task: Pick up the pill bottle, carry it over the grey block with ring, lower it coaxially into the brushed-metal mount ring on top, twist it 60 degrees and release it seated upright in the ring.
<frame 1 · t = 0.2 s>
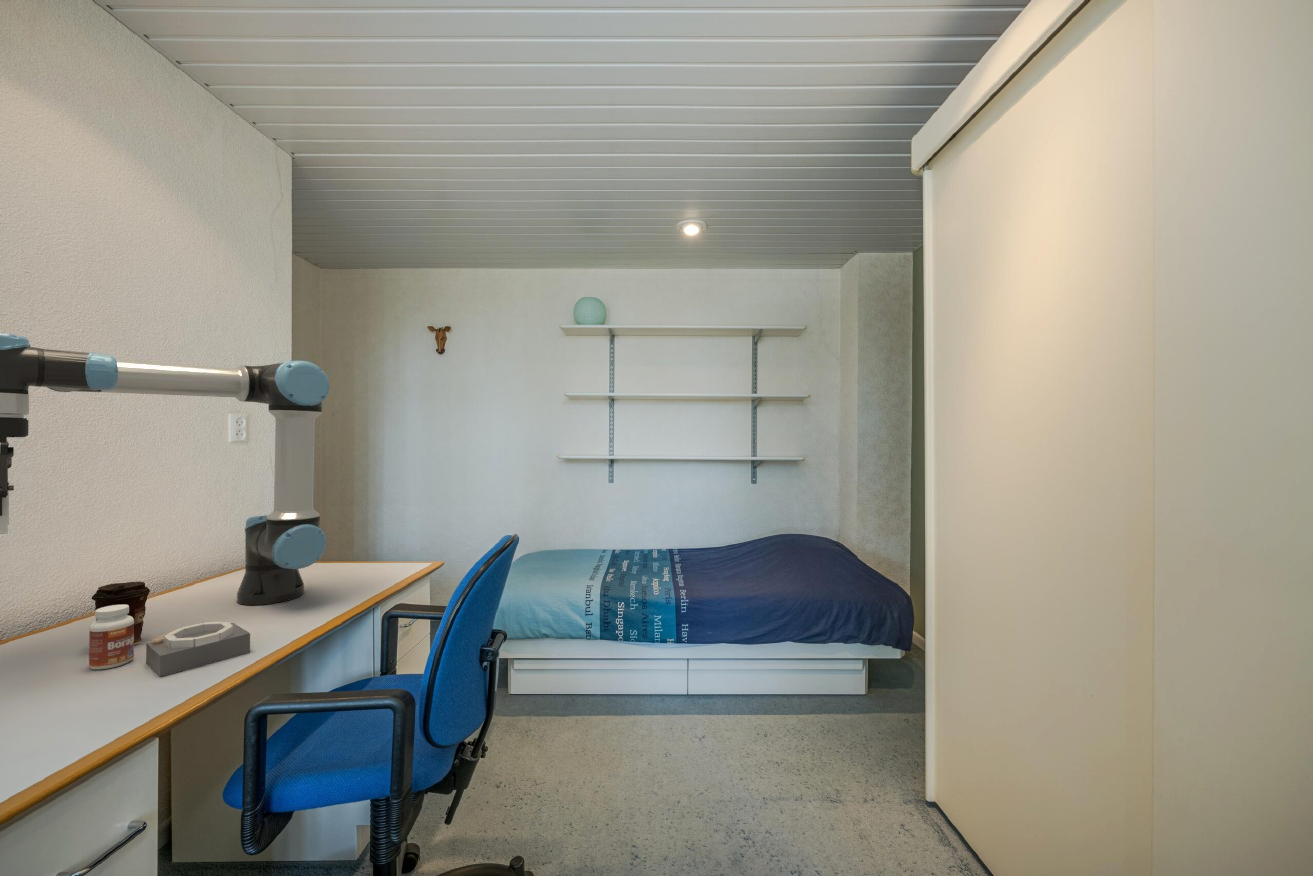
grey block with ring: (199, 657, 107), on the table
coffee cup: (120, 646, 113), on the table
pill bottle: (111, 664, 104), on the table
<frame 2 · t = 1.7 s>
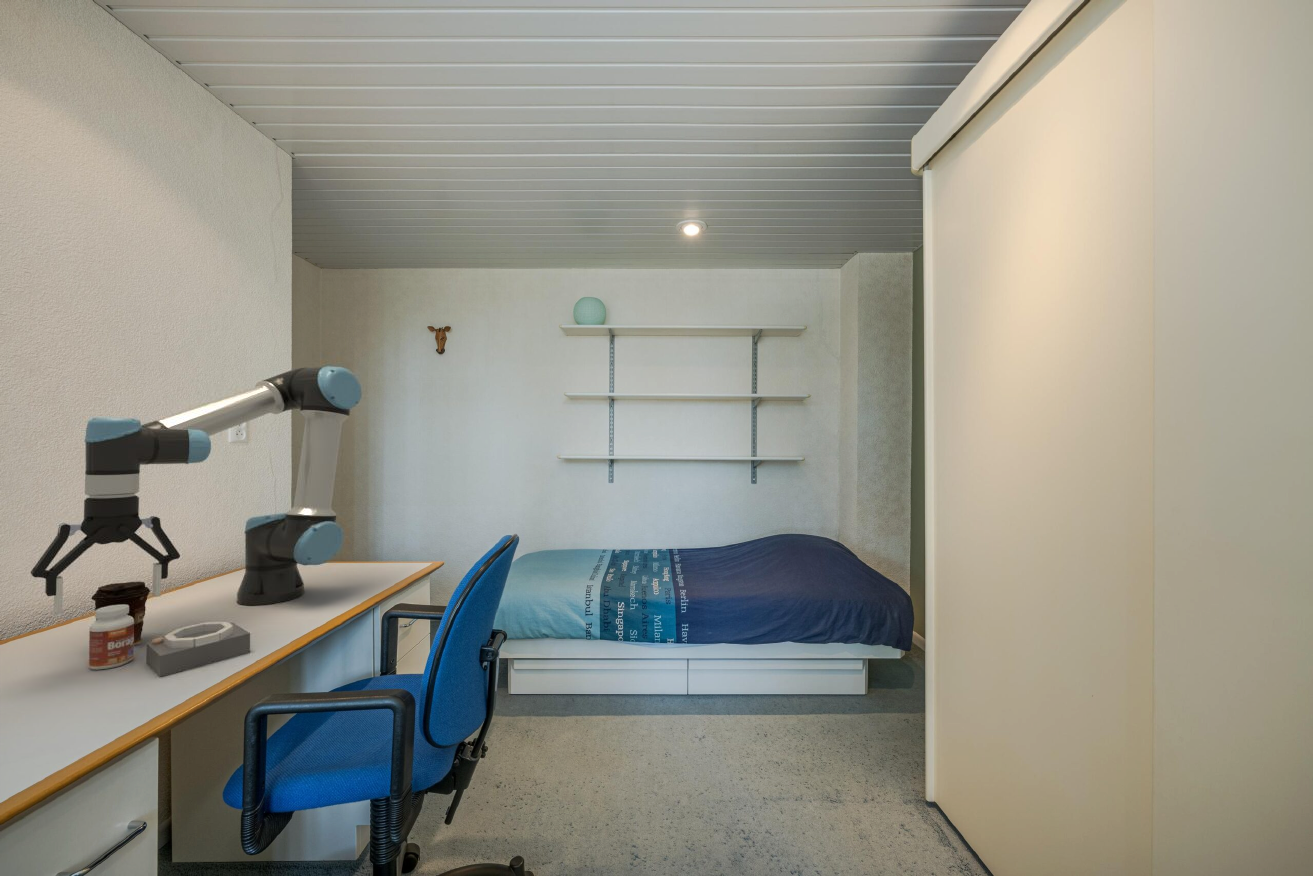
hand: (109, 603, 104), 12 cm above the table, fingers open, 13 cm apart
nothing on the table moved.
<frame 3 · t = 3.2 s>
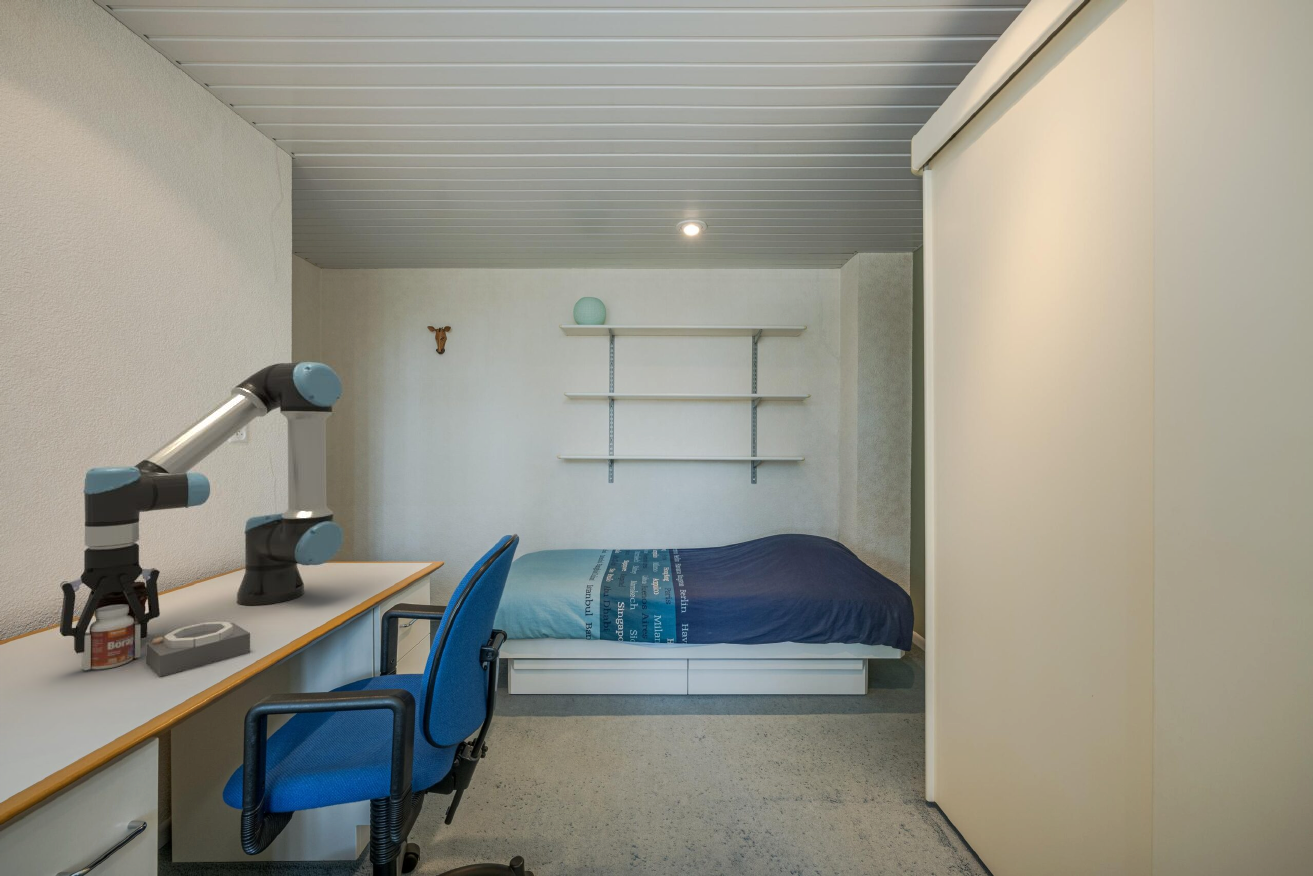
hand: (111, 661, 104), 0 cm above the table, fingers closed on pill bottle, 6 cm apart
pill bottle: (111, 664, 104), on the table, touching gripper
everything else where it was.
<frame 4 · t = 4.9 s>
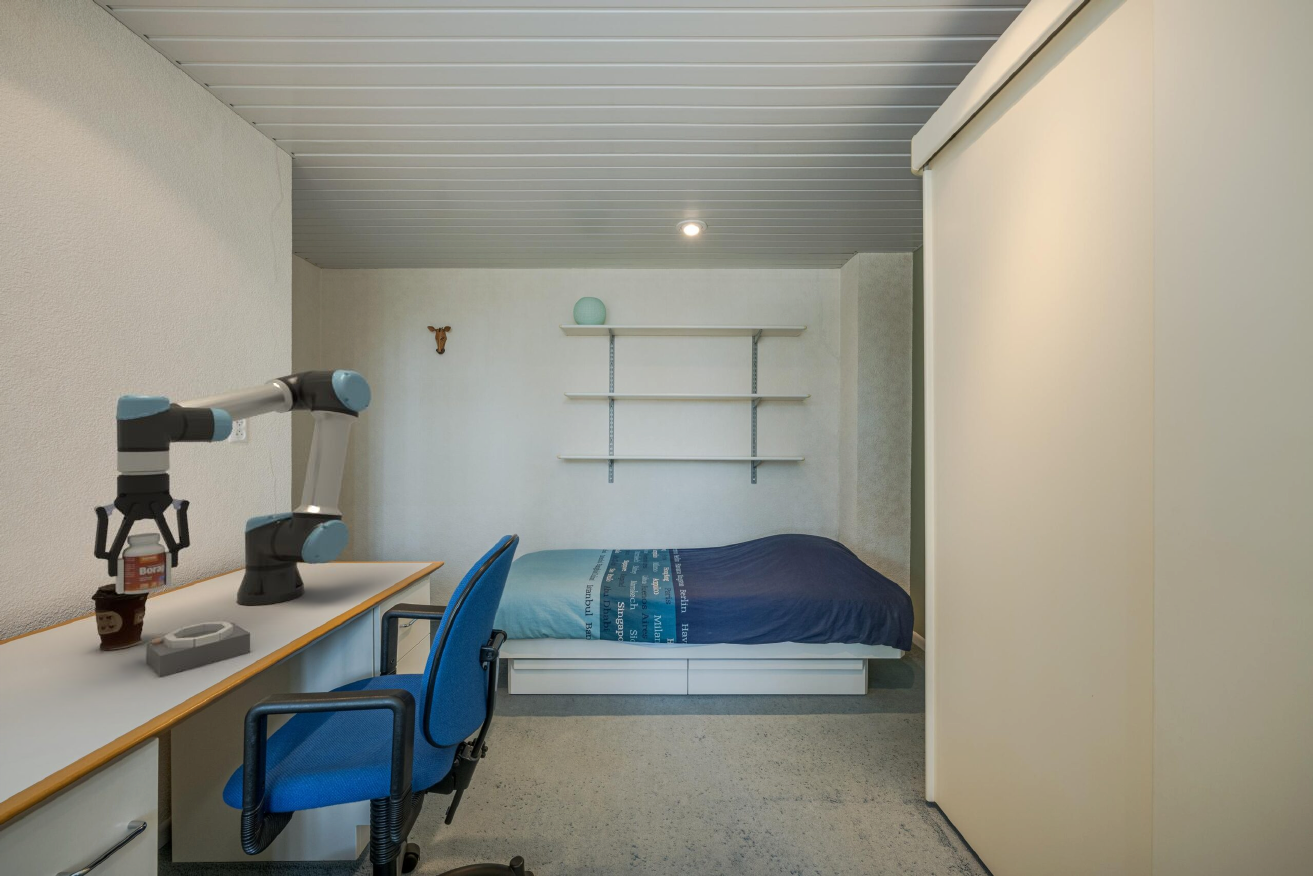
hand: (144, 587, 105), 15 cm above the table, fingers closed on pill bottle, 6 cm apart
pill bottle: (143, 591, 105), point 14 cm above the table, touching gripper
everything else where it was.
when the fingers open (6 cm above the table, at t = 6.8 s): pill bottle drops 2 cm, resting on grey block with ring.
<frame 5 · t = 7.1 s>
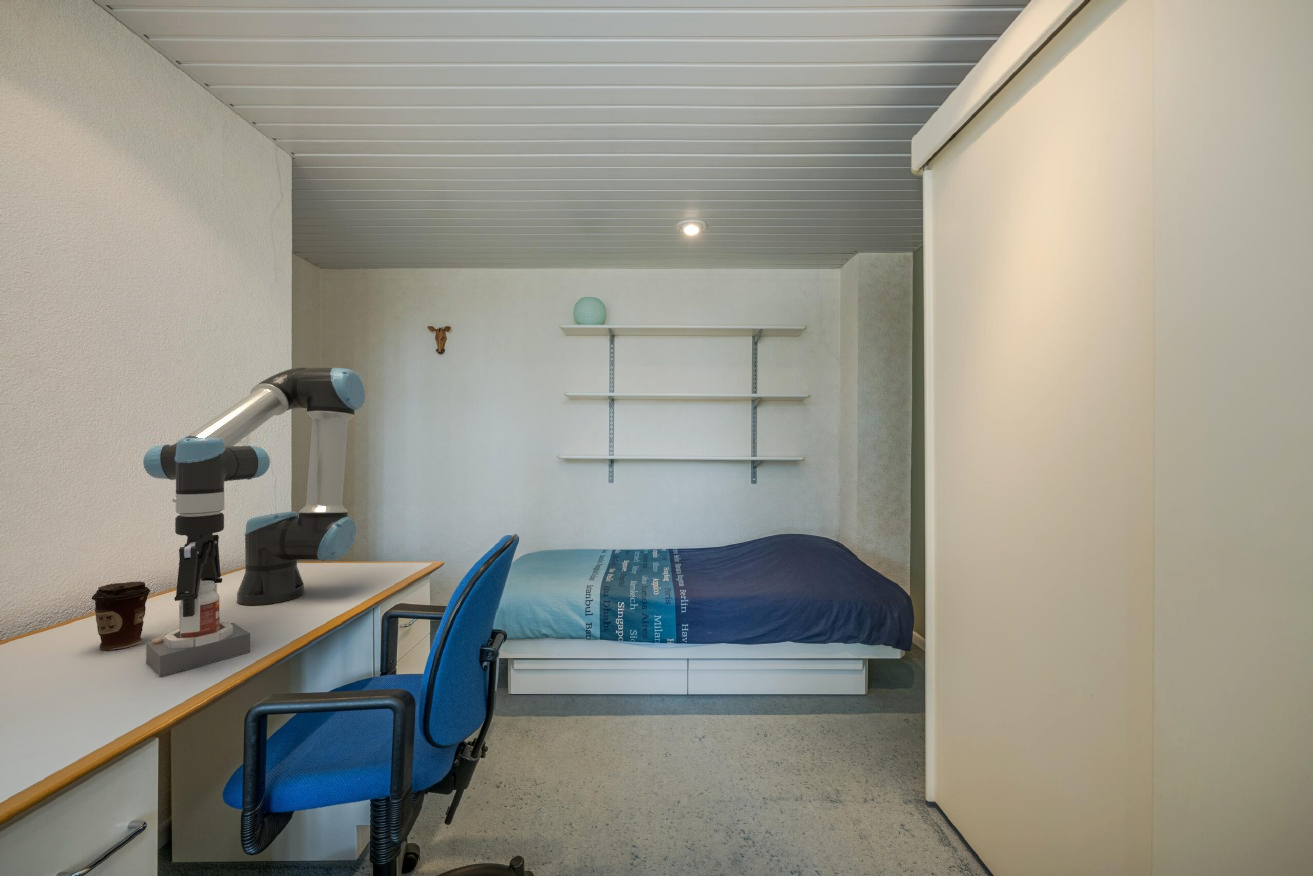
hand: (199, 623, 107), 7 cm above the table, fingers open, 9 cm apart
pill bottle: (200, 638, 107), point 4 cm above the table, touching grey block with ring
everything else where it was.
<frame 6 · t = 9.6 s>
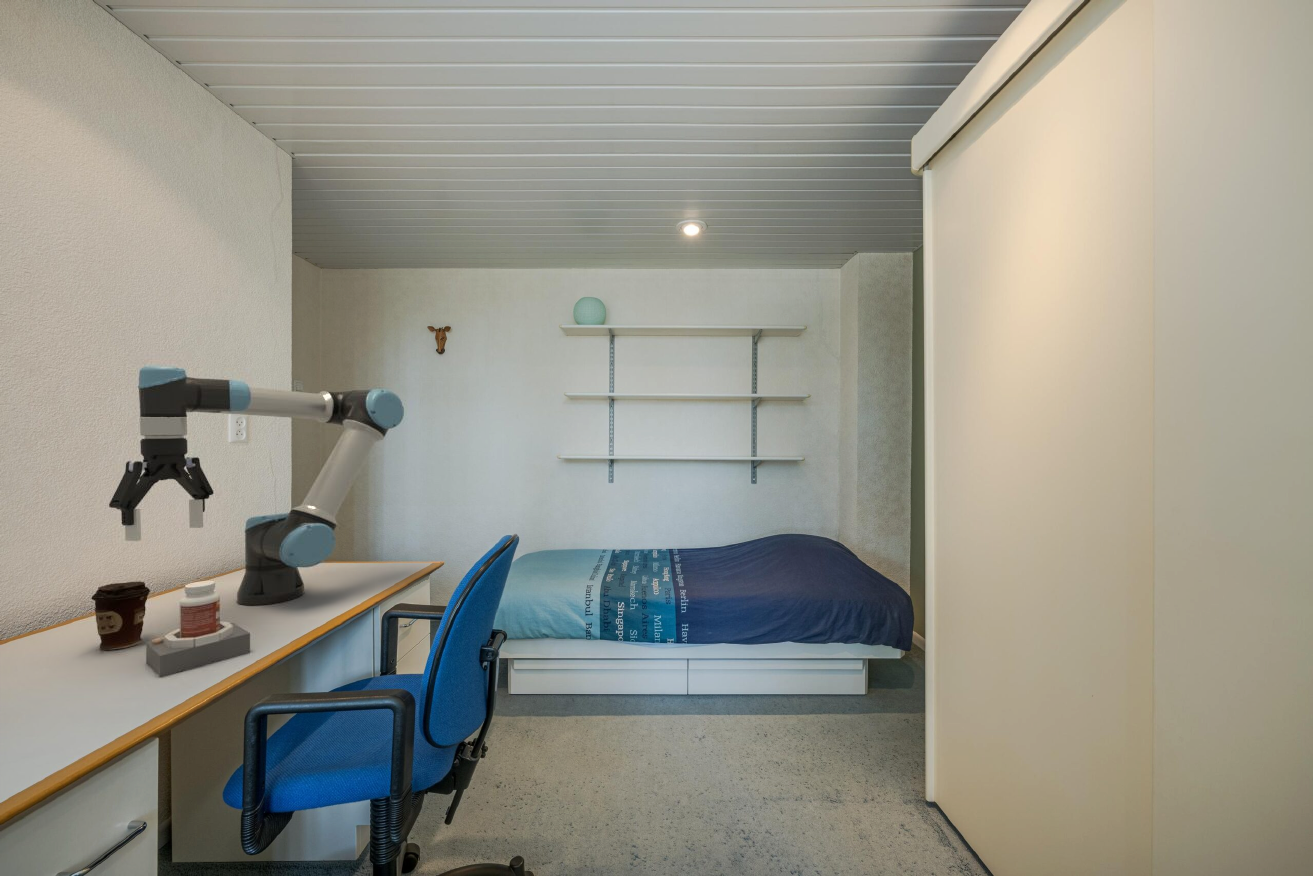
hand: (166, 533, 116), 23 cm above the table, fingers open, 13 cm apart
nothing on the table moved.
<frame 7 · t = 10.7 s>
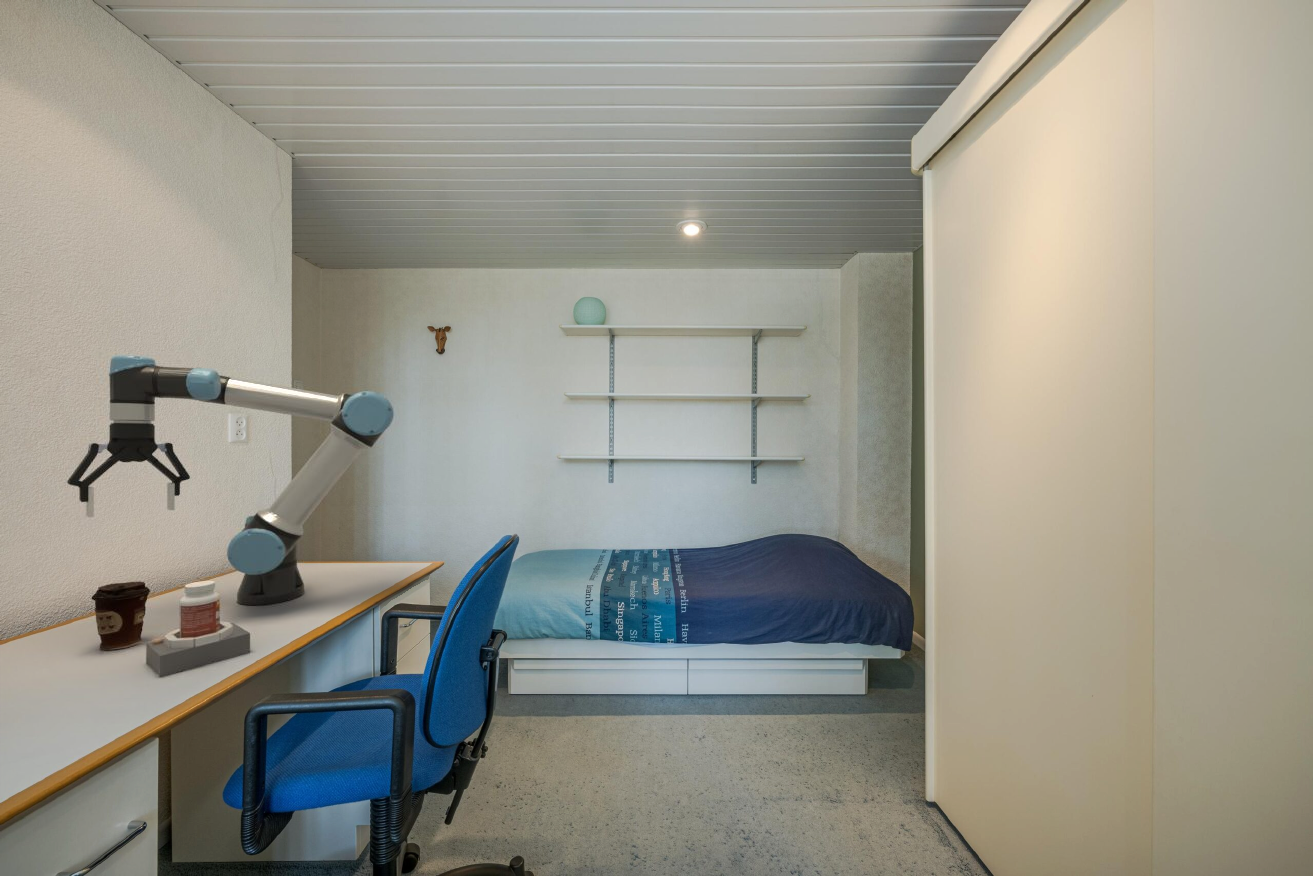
hand: (132, 513, 123), 27 cm above the table, fingers open, 13 cm apart
nothing on the table moved.
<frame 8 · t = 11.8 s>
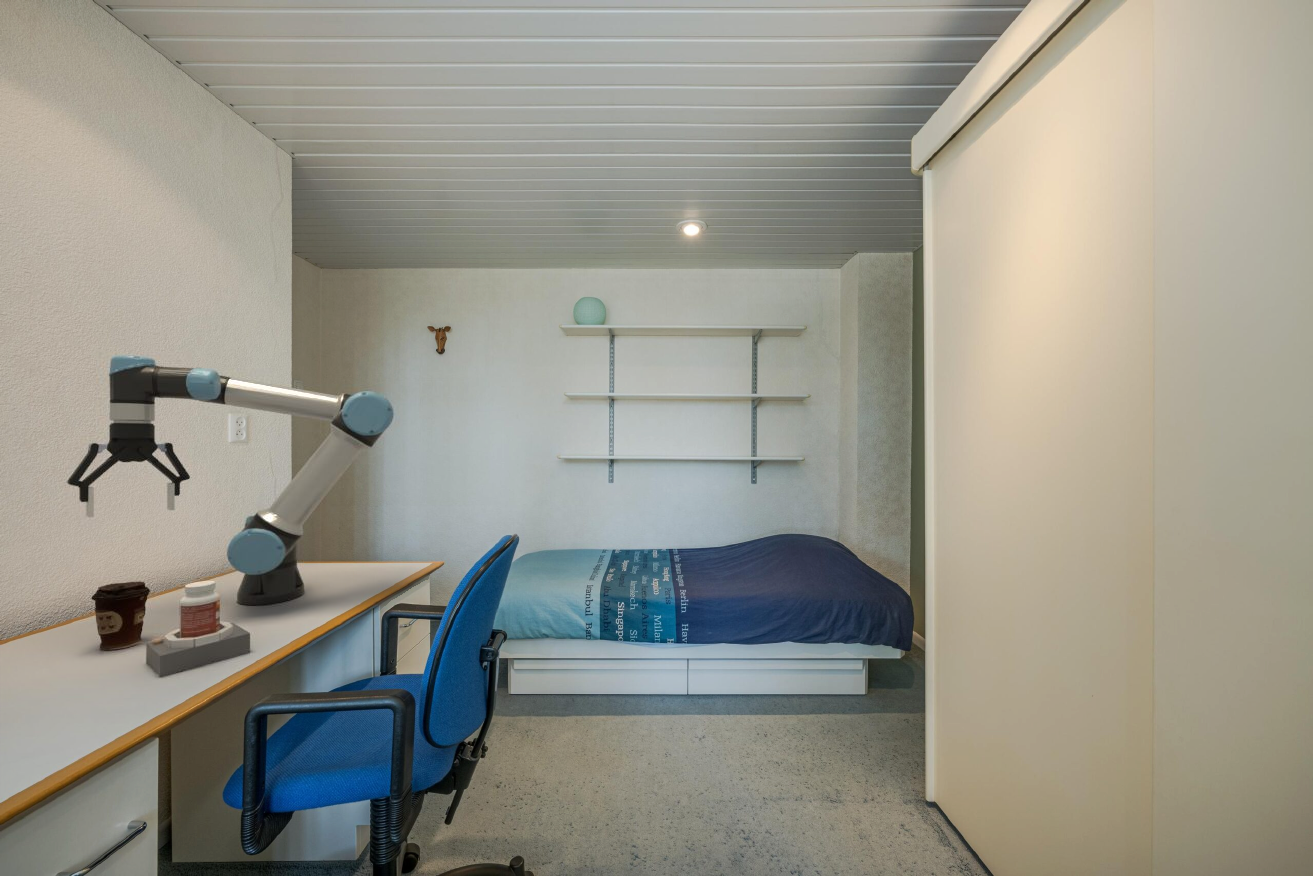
hand: (132, 513, 123), 27 cm above the table, fingers open, 13 cm apart
nothing on the table moved.
at the end: pill bottle 0.1 cm off-centre on the grey block with ring, point 3.8 cm above the grey block with ring's base; pill bottle tilted 0°; the gripper is holding nothing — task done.
